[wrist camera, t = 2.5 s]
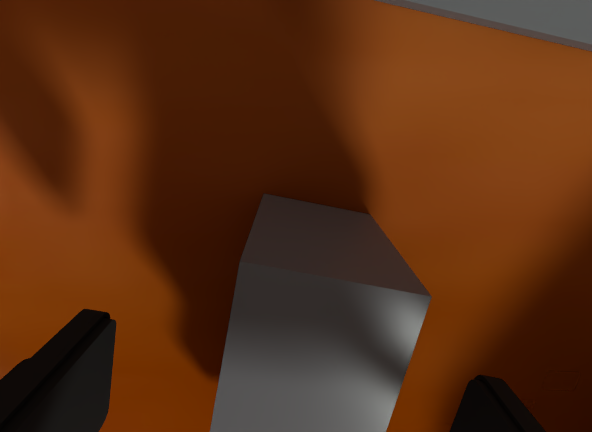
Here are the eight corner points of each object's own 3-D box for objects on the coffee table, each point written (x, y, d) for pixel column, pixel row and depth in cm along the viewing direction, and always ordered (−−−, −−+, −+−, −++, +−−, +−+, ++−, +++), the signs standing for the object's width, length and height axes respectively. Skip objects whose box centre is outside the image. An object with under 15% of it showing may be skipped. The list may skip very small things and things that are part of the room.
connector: (263, 193, 13) (240, 261, 7) (369, 214, 13) (431, 296, 7) (223, 410, 15) (182, 592, 9) (313, 424, 16) (325, 610, 10)
